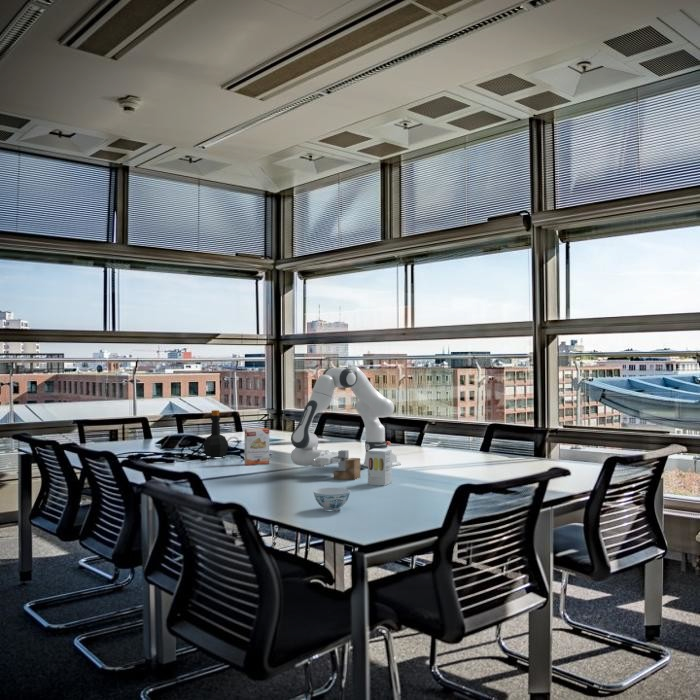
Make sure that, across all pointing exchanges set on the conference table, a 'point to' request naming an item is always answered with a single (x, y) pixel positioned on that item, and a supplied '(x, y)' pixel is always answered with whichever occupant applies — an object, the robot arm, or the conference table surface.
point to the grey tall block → (342, 459)
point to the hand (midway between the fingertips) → (344, 459)
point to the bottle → (215, 439)
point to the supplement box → (379, 466)
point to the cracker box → (256, 446)
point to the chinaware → (331, 497)
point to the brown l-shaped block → (349, 469)
